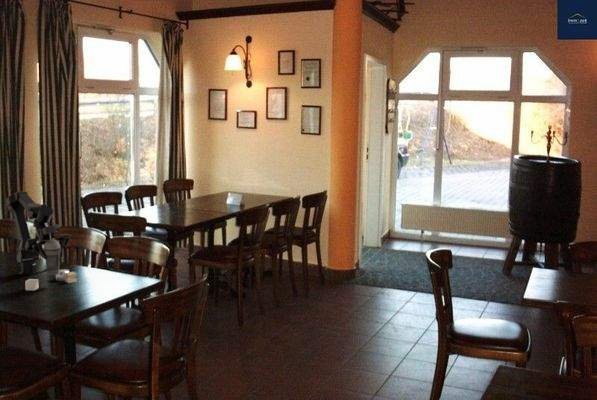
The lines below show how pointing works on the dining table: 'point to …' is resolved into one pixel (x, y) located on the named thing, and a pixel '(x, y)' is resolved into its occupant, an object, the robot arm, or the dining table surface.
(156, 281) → the dining table surface
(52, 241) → the beverage cup
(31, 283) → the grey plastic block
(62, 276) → the metal tin
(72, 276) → the birch block
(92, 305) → the dining table surface
